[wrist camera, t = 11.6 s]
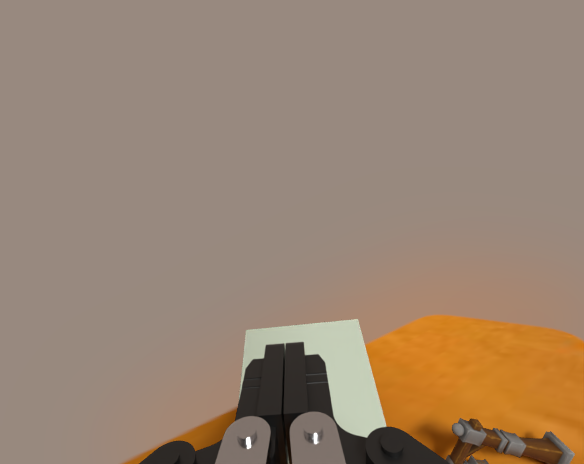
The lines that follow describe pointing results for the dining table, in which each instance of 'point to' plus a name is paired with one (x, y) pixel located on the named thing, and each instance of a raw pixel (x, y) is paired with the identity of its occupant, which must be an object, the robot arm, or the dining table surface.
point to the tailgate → (331, 368)
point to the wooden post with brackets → (505, 444)
